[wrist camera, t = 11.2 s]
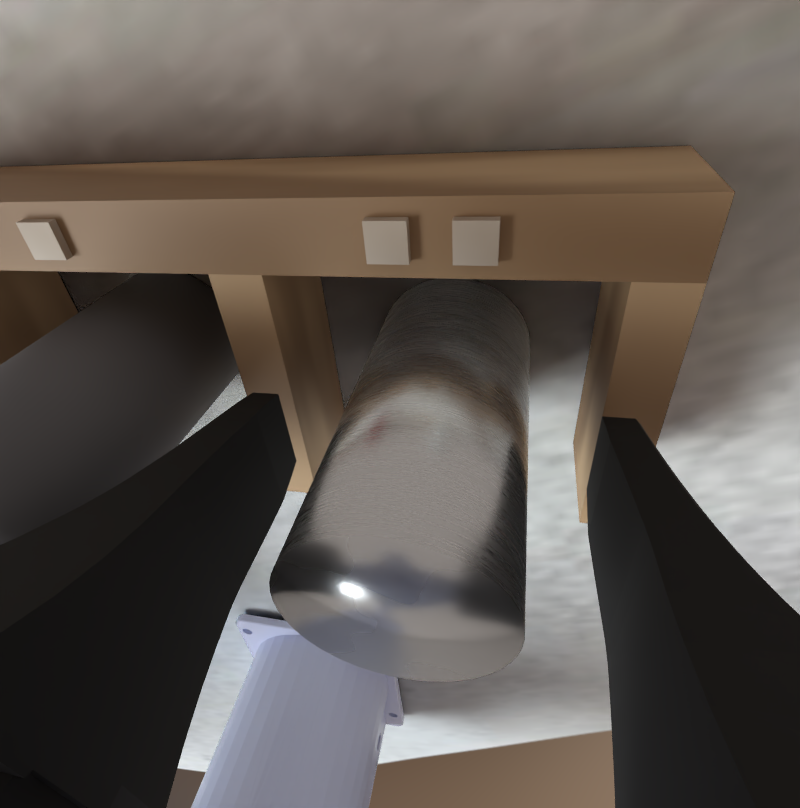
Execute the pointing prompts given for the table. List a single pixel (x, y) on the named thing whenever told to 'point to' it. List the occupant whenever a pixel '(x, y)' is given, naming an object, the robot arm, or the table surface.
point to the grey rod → (422, 497)
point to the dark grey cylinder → (107, 395)
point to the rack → (382, 256)
